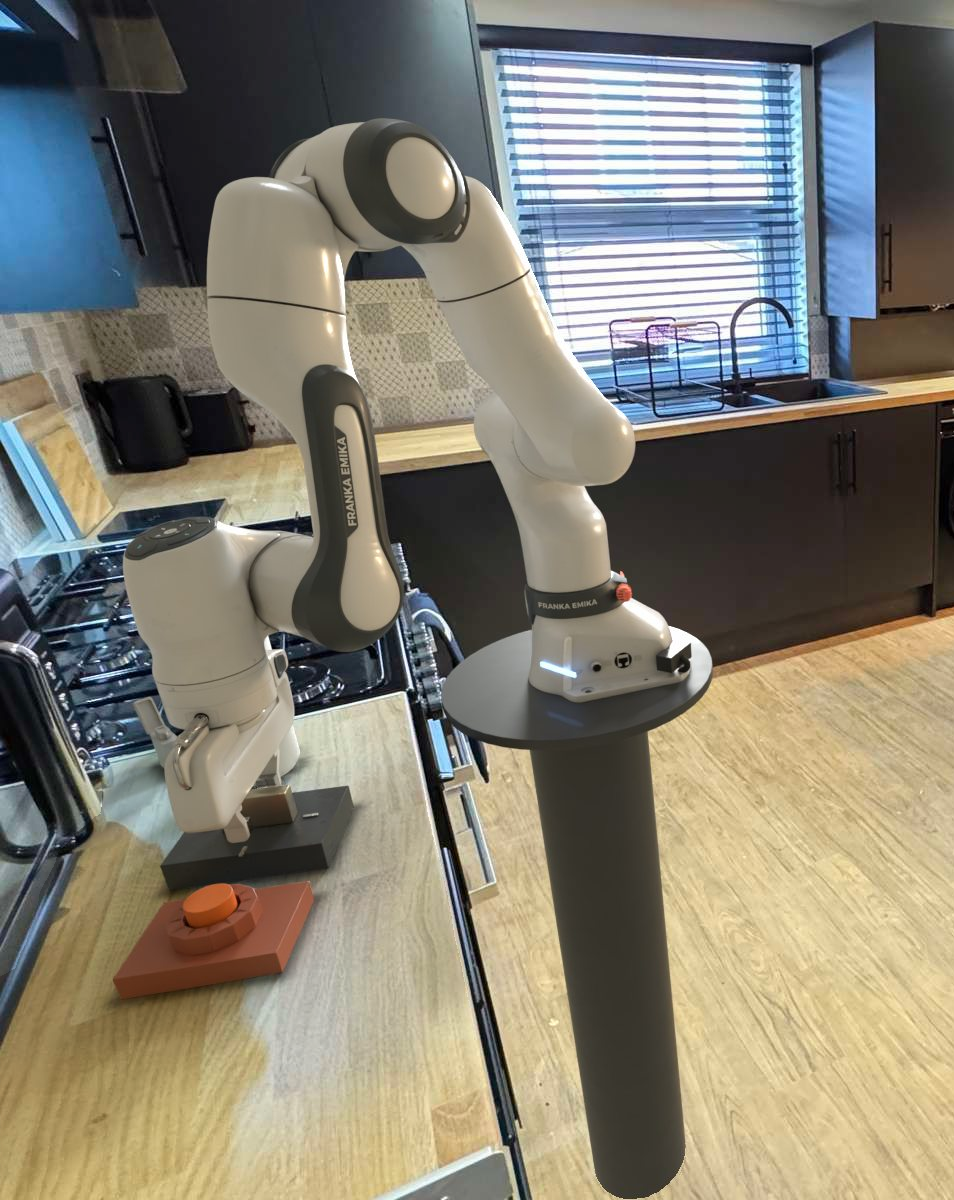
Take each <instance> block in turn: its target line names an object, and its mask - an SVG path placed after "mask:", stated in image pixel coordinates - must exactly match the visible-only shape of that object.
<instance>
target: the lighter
mask: <svg viewBox="0 0 954 1200" xmlns="http://www.w3.org/2000/svg"><path fill="white" fill-rule="evenodd" d="M132 707H133V709H134V711H135V713H136V714H137V717H138V719H139V721H140V724H141V725H142V727H143V730H144V732H145V734H146V735H149V736H150V739H151V743H152V745H153V748H154V751H155V753H156V756H157V759H158V762H159V764H160V765H159V766H161V767H162V768H163V769H164V770H165V762H166V759H167V757H168V755H169V754H170V752H171V751H172V750H173V749H174V745H173V744H174V741H175V739H176V738H177V737H178V735H176V734H175V733H174V732H172V731H171V728H169V727H168V726H167V725H166V724H165V722H164V719H163V717H162V716H161V714H160V711H159V709H158V707H157V705H156V702H155V701H154V699H153V697H152V696H147V697H144V698H141V699H138V700H135V701H134V702H133V703H132Z"/></svg>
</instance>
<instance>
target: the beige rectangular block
mask: <svg viewBox="0 0 954 1200" xmlns="http://www.w3.org/2000/svg"><path fill="white" fill-rule="evenodd" d="M292 793H293V791H292V787H291V784H283V785H280V786H275V787H267V788H259V789H258V788H253V789H252V788H251V790H250V791H249V793H248V794H247V796H246V797H245V799H244V800H243V802H242V803H241V805H242V810H241V811H240V813H241V814H242V816H243V817H250V819H251V822H252V826H253V827H261V826H268V825H276V824H283V823H291V822H293V821H294V819H295V818H296V816H297V814H298V811H297V808H296V804H295V801H294V797H293V794H292ZM221 831H222V832H223V831H224V829H221Z"/></svg>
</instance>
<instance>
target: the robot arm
mask: <svg viewBox="0 0 954 1200" xmlns="http://www.w3.org/2000/svg"><path fill="white" fill-rule="evenodd" d="M209 228H210V229H209V235H208V246H207V255H206V256H207V258H206V298H207V299H206V301H207V302H206V303H207V323H208V333H209V339H210V343H211V347H212V351H213V355H214V357H215V361H216V364H217V367H218V369H219V371H220V372H221V373H222V375H223V377H225V378H226V379H227V381H228V382H229V383H230V384H231V385H232V386H233V387H234V388H235V389H236V390H237V391H239V392H240V394H242V395H243V396H245V397H246V398H247V399H249V400H250V401H252V402H254V403H256V404H257V405H259V406H260V407H262V408H263V409H264V410H265V411H267V412H268V413H269V414H271V415H272V416H273V417H274V419H276V420H277V421H279V423H281V425H283V427H284V428H285V429H286V430H287V431H288V433H289V434H290V435H291V437H292V438H293V440H294V441H295V443H296V445H297V447H298V449H299V453H300V455H301V458H302V462H303V469H304V474H305V475H304V476H305V484H306V490H307V497H308V498H307V499H308V505H309V512H310V519H311V527H312V534H313V536H310V535H306V534H300V533H297V532H296V533H295V532H290V531H283V530H257V529H248V528H244V527H240V526H235V525H231V524H228V523H224V522H221V521H219V520H218V519H216V518H213V517H209V516H188V517H184V518H180V519H176V520H174V519H173V520H170V521H169V520H168V521H166V522H163V523H160V524H157V525H155V526H152V527H150V528H148V529H146V530H144V531H142V532H141V533H139V534H137V535H136V536H135V538H133V539H132V540H130V541H129V542H128V544H127V546H126V548H125V550H124V553H123V556H122V557H123V558H122V573H123V581H124V585H125V590H126V596H127V600H128V603H129V607H130V610H131V614H132V617H133V620H134V621H133V622H134V623H135V627H136V630H137V633H138V636H140V639H141V640H142V641H143V642H144V643H145V644H146V646H147V647H148V650H149V651H150V654H151V657H152V659H151V660H152V662H151V663H152V665H151V674H152V677H153V681H154V684H155V686H156V690H157V692H158V695H159V697H160V701H161V704H162V706H163V710H164V713H165V716H166V719H167V722H168V723H169V725H170V726H172V727H174V728H176V729H180V730H183V731H182V732H181V733H180V734H178V735H177V738H176V739H175V741H174V744H173V745H174V749H173V750H172V751H171V752H170V754H169V755H168V757H167V759H166V762H165V769H164V780H165V787H166V790H167V796H168V799H169V803H170V807H171V810H172V815H173V818H174V822H175V825H176V827H177V828H178V829H179V830H180V831H182V832H183V833H184V832H185V833H199V832H207V831H214V830H219V829H224V831H225V834H226V837H227V840H228V841H229V842H231V843H237V842H245V841H247V840H248V838H249V836H250V834H251V833H252V831H253V826H252V822H251V819H250V817H243V816H242V814H241V813H240V811H241V810H242V805H241V803H242V802H243V800H244V799H245V797H246V796H247V794H248V793H249V791H250V790H251V789H252V788H253V787H252V786H253V785H254V783H255V782H256V786H255V787H257V789H259V788H267V787H275V786H282V785H281V784H282V781H283V780H282V777H280V774H279V755H280V751H279V747H278V746H279V745H280V743H281V742H282V740H283V739H284V737H285V736H286V734H287V733H288V731H289V730H290V728H291V727H292V725H293V726H294V721H295V703H294V699H293V694H292V688H291V684H290V679H289V676H288V673H287V671H286V670H287V669H288V667H289V660H288V656H287V652H286V651H285V649H284V648H283V649H282V648H275V649H273V648H272V650H265V646H264V641H265V639H266V637H267V636H268V637H269V636H271V635H273V634H276V633H279V632H280V631H281V632H284V633H286V634H290V635H294V636H298V637H301V638H304V639H306V640H308V641H310V642H313V643H314V644H317V645H320V646H322V647H324V648H326V649H329V650H331V651H335V652H341V653H350V652H356V651H360V650H363V649H365V648H367V647H370V646H371V645H373V644H375V643H376V642H378V641H379V640H381V638H383V637H384V636H385V635H386V634H387V633H388V632H389V631H390V630H391V629H392V627H393V626H394V625H395V623H396V622H397V620H398V618H399V616H400V614H401V613H402V609H403V605H404V600H405V584H404V578H403V574H402V571H401V568H400V565H399V563H398V560H397V558H396V556H395V553H394V550H393V548H392V544H391V540H390V538H389V532H388V524H387V517H386V511H385V502H384V495H383V487H382V480H381V471H380V464H379V457H378V450H377V449H378V448H377V443H376V435H375V429H374V424H373V417H372V413H371V409H370V405H369V401H368V398H367V395H366V393H365V391H364V389H363V387H362V385H361V384H360V382H359V381H358V378H357V376H356V374H355V370H354V366H353V362H352V357H351V353H350V349H349V341H348V332H347V318H346V316H347V312H346V311H347V310H346V292H345V280H346V274H347V269H348V266H349V262H350V260H351V258H352V256H353V255H354V254H355V253H356V252H365V253H366V252H367V253H372V252H384V251H388V250H389V251H390V250H391V249H394V248H397V247H402V248H403V249H405V250H406V251H407V252H408V253H409V254H410V256H412V257H413V258H414V259H415V261H416V262H417V264H418V265H419V266H420V268H421V269H422V270H423V272H424V276H425V277H426V281H427V283H428V285H429V287H430V290H431V292H432V294H433V296H434V298H435V300H436V302H437V304H438V306H439V308H440V310H441V312H442V314H443V316H444V318H445V320H446V322H447V324H448V327H449V329H450V330H451V333H452V335H453V338H454V339H455V341H456V343H457V345H458V347H459V349H460V352H461V353H462V355H463V357H464V359H465V361H466V363H467V364H468V366H469V367H470V368H471V369H472V371H473V372H474V373H475V374H476V375H478V376H479V377H480V378H482V380H483V381H484V382H486V384H487V385H488V386H489V387H490V388H491V389H492V390H493V391H494V392H492V393H490V394H488V395H487V396H486V397H485V398H484V399H483V400H482V401H481V402H480V403H479V405H478V406H477V409H476V411H475V413H474V417H473V433H474V437H475V440H476V442H477V444H478V446H479V448H480V449H481V450H482V452H483V453H485V455H486V456H487V457H488V459H489V460H490V462H491V463H492V465H493V467H494V469H495V472H496V473H497V476H498V478H499V480H500V483H501V486H502V487H503V490H504V493H505V495H506V498H507V500H508V503H509V505H510V507H511V510H512V513H513V516H514V519H515V521H516V526H517V528H518V533H519V538H520V546H521V549H522V551H521V552H522V558H523V561H524V570H525V575H526V580H525V583H524V590H523V591H524V592H523V593H524V599H525V607H526V615H527V617H528V620H529V623H530V624H531V630H532V655H531V664H530V671H529V675H528V679H529V682H530V683H531V685H532V686H534V687H535V688H537V689H539V690H541V691H543V692H547V693H551V694H556V695H560V696H563V697H564V698H566V699H568V700H569V701H572V702H575V703H581V702H586V701H591V700H596V699H601V698H606V697H610V696H615V695H620V694H625V693H630V692H635V691H640V690H644V689H649V688H654V687H659V686H664V685H669V684H674V683H678V682H681V681H683V680H684V679H685V678H686V677H687V675H688V674H689V672H690V668H691V661H690V658H691V657H692V653H691V643H690V642H685V641H680V640H678V639H676V638H674V637H672V634H671V631H670V629H669V626H670V625H669V624H668V621H666V619H665V617H664V616H663V615H662V614H661V613H660V612H659V611H657V610H655V609H653V608H651V607H649V606H647V605H645V604H643V603H642V602H640V601H639V600H636V599H635V598H632V597H633V592H632V587H631V586H630V585H629V584H628V580H627V577H625V574H624V573H623V571H621V570H620V573H617V572H616V571H613V570H612V569H611V559H610V548H609V540H608V529H607V522H606V520H605V518H604V517H605V516H604V515H603V513H602V512H601V510H600V509H599V508H598V506H597V505H596V504H595V502H593V500H592V498H591V496H590V495H589V493H588V490H587V488H586V487H594V486H604V485H609V484H612V483H615V482H616V481H618V480H619V479H621V478H622V477H624V475H625V474H626V473H627V471H628V470H629V468H630V467H631V464H632V462H633V459H634V457H635V453H636V436H635V430H634V428H633V425H632V423H631V422H630V420H629V418H628V417H627V416H626V415H625V413H623V412H622V411H621V410H620V409H619V408H617V407H616V406H615V405H614V404H613V403H611V402H610V400H608V399H607V398H606V397H605V396H604V395H603V393H601V392H600V390H599V389H598V388H597V386H596V385H595V384H594V382H593V381H592V380H591V378H590V377H589V376H588V374H587V373H586V371H585V370H584V368H583V367H582V366H581V364H580V363H579V361H578V360H577V359H576V357H575V356H574V355H573V353H572V351H571V350H570V348H569V347H568V345H567V344H566V342H565V340H564V339H563V337H562V335H561V334H560V332H559V330H558V327H557V326H556V324H555V322H554V319H553V317H552V314H551V312H550V310H549V307H548V305H547V303H546V300H545V299H544V296H543V294H542V292H541V289H540V287H539V284H538V282H537V280H536V277H535V275H534V273H533V270H532V268H531V265H530V263H529V261H528V258H527V256H526V254H525V251H524V249H523V247H522V245H521V243H520V241H519V238H518V237H517V235H516V233H515V231H514V229H513V228H512V225H511V224H510V222H509V219H508V218H507V217H506V215H505V214H504V212H503V210H502V208H501V206H500V205H499V204H498V202H497V200H496V198H495V197H494V196H493V194H492V192H491V191H490V190H489V188H488V187H487V186H486V185H484V184H483V183H482V182H481V181H480V180H477V179H476V178H474V177H471V176H468V175H464V173H463V172H462V171H461V170H460V169H459V167H458V164H457V163H456V161H455V160H454V158H453V156H452V155H451V153H450V152H449V151H448V149H447V148H446V147H445V146H444V145H443V144H442V143H441V142H440V140H439V139H437V138H436V136H434V135H433V134H432V133H431V132H429V131H428V130H426V129H425V128H424V127H422V126H420V125H418V124H415V123H413V122H410V121H406V120H402V119H396V118H387V117H386V118H385V117H379V118H373V119H369V120H367V121H360V122H351V123H344V124H340V125H339V124H338V125H335V126H332V127H329V128H327V129H326V130H324V131H322V132H321V133H319V134H317V135H314V136H312V137H308V138H303V139H300V140H297V141H295V142H294V143H292V144H291V145H289V146H288V147H287V148H286V149H285V150H284V151H283V152H282V153H281V154H280V155H279V156H278V158H277V159H276V160H275V162H274V164H273V166H272V167H271V170H270V172H269V174H268V176H267V177H266V176H253V177H250V176H249V177H245V178H239V179H237V180H236V179H235V180H233V181H231V182H229V183H227V184H225V185H224V186H223V187H222V188H221V189H220V190H219V192H218V193H217V196H216V198H215V201H214V205H213V211H212V215H211V221H210V227H209Z"/></svg>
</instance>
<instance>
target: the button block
mask: <svg viewBox="0 0 954 1200" xmlns="http://www.w3.org/2000/svg"><path fill="white" fill-rule="evenodd" d="M229 885H230V886H231V887H232V888H233V891H234V894H235V897H236V900H237V904H238V906H237V909H236V911H235V912H234V913H233V914H232V915H230V916H229V917H228V918H227V919H225V920H224V921H221V922H219V923H217V924H214V925H212V926H210V927H204V928H197V929H196V928H192V927H191V926H190V925H189V924H188V921H187V919H186V916H185V913H184V911H183V903H184V901H185V900H186V899H187V898H184V899H178V900H177V899H176V900H171V901H165V902H163V904H161V907H160V908H159V909H158V911H157V912H156V914H155V915H154V917H153V918H152V919H151V921H150V923H149V924H148V925H147V927H146V928H145V930H144V932H143V933H142V935H141V936H140V938H139V939H138V941H137V942H136V944H135V945H134V946H133V948H132V950H131V951H130V952H129V954H128V956H127V957H126V959H125V960H124V962H123V963H122V964H121V966H120V967H119V968H118V970H117V972H116V974H115V975H114V976H113V978H112V981H113V984H114V986H115V988H116V991H117V993H118V995H119V998H120V1000H126V999H131V998H137V997H138V998H139V997H144V996H150V995H156V994H161V993H169V992H174V991H181V990H185V989H186V990H187V989H192V988H198V987H204V986H210V985H211V986H212V985H217V984H221V983H229V982H235V981H240V980H241V981H242V980H245V979H252V978H259V977H264V976H269V975H277V974H282V973H283V972H284V971H285V968H286V965H287V964H288V962H289V959H290V957H291V954H292V952H293V949H294V947H295V945H296V942H297V940H298V938H299V936H300V934H301V932H302V929H303V927H304V924H305V922H306V920H307V917H308V916H309V913H310V910H311V908H312V906H313V903H314V902H315V897H314V893H313V889H312V886H311V883H310V880H307V881H299V882H293V883H285V884H280V885H272V886H266V887H259V888H258V887H257V888H254V887H252V886H250V885H245V884H241V883H230V884H229Z"/></svg>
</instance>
